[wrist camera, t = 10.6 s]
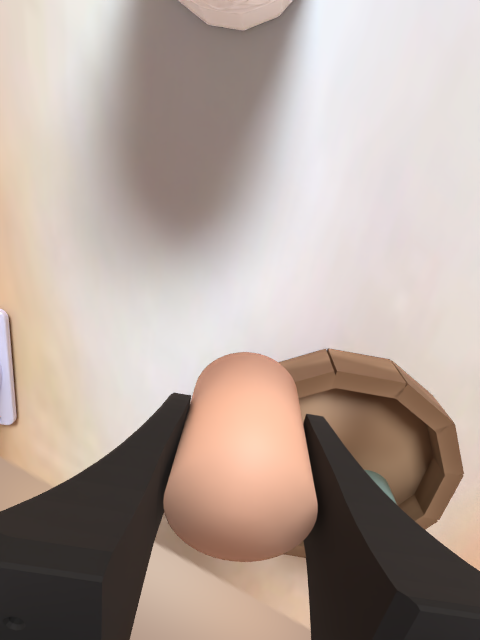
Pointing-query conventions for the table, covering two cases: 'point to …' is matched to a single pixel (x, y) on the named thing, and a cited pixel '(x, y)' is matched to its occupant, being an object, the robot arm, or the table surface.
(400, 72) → the table surface
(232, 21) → the white cup
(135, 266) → the table surface
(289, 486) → the peach rounded cylinder
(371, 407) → the tray
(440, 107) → the table surface
